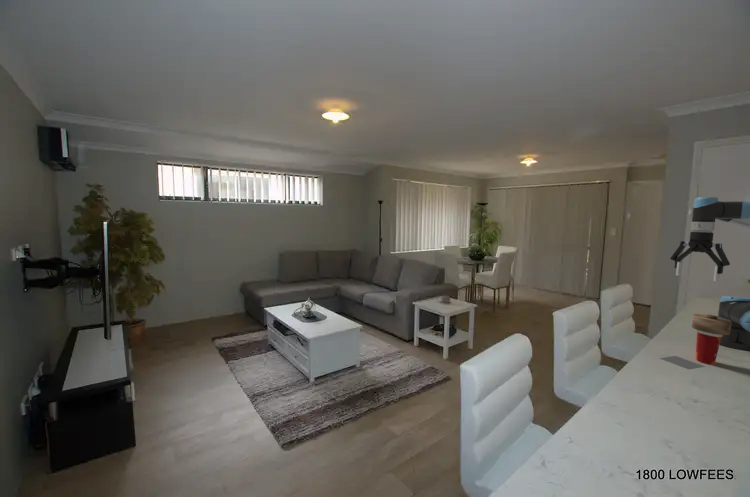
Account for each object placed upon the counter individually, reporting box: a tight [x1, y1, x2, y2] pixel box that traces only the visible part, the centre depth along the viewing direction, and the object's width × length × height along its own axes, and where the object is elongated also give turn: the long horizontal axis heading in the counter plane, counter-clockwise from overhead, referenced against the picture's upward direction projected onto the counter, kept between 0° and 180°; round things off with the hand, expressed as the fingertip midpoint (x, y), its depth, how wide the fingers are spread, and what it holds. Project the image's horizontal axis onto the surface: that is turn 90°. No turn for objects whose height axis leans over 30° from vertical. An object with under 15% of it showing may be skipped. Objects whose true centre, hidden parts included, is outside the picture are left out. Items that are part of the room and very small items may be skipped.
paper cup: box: [695, 329, 723, 365], centre depth 137 cm, size 8×8×14 cm
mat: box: [659, 355, 705, 370], centre depth 136 cm, size 10×10×1 cm
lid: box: [691, 313, 732, 335], centre depth 136 cm, size 11×11×6 cm
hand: (696, 278), depth 152 cm, fingers open, 13 cm apart
